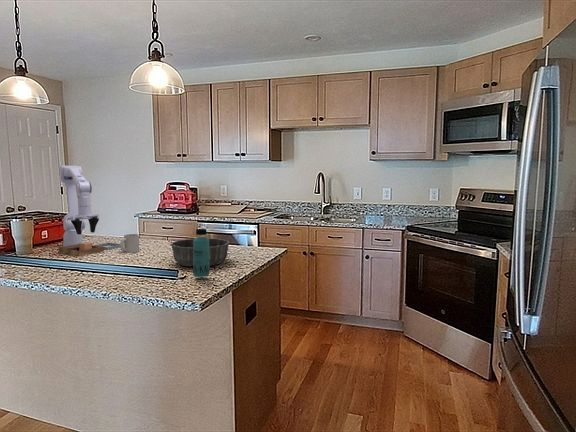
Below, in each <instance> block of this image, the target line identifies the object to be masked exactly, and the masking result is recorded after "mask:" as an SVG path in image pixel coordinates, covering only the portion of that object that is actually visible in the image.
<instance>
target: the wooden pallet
mask: <svg viewBox="0 0 576 432" xmlns="http://www.w3.org/2000/svg"><path fill="white" fill-rule="evenodd" d="M95 245H96V244H92V249H88V250H83V251H75V250H69V249H74V248H79V244H75V245H69V246H64V245H63V247H62V246H59V247H58V254H62V255H68V256H73V257H78V258H79V257H84V256H88V255H93V254H99V253H103V252H105V250H104V247H105V246H103V247H102V246H95Z"/></svg>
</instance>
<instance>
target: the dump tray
mask: <svg viewBox="0 0 576 432" xmlns="http://www.w3.org/2000/svg"><path fill="white" fill-rule="evenodd" d="M94 245H95V246H102V247H104V251H110V250H116V249H121V247H120V243H115V242H114V243H113V242H105V243H103V242H102V243H100V244H99V243H98V244H94Z"/></svg>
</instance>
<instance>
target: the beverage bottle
mask: <svg viewBox="0 0 576 432" xmlns="http://www.w3.org/2000/svg"><path fill="white" fill-rule="evenodd" d="M207 233H208V231H207V229H206V228H196V230H195V235H197V236H196V237H195V238H193V239H194V240H193V266H192V271H193V272H192V275H193V276H194V277H197V278H204V277H209V275H210V271H211V270H210V269H211V268H210V267H211V266H209V263H210V257H209V239H208V237H206V235H207Z"/></svg>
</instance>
